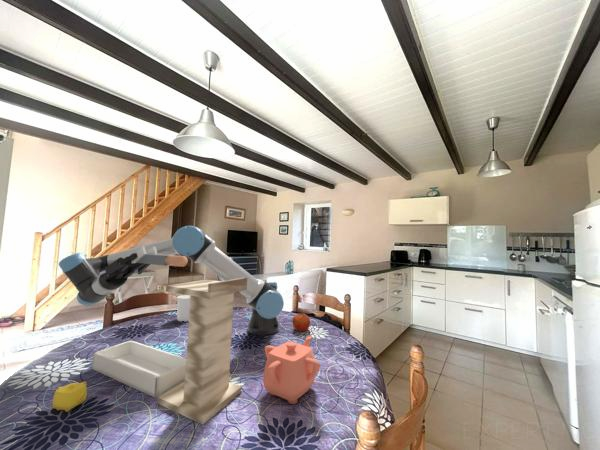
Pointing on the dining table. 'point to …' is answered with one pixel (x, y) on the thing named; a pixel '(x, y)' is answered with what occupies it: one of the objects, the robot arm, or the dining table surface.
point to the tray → (141, 367)
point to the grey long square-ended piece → (164, 260)
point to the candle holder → (183, 307)
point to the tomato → (301, 322)
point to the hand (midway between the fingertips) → (149, 250)
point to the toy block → (69, 396)
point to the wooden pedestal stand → (206, 350)
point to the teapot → (290, 370)
